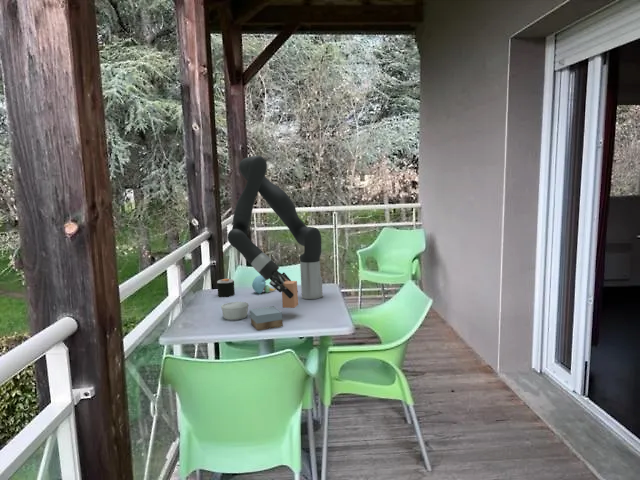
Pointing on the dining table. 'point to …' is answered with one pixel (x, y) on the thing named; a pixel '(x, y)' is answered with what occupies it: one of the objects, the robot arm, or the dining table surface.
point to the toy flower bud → (261, 285)
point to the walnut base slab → (267, 324)
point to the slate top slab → (265, 314)
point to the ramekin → (235, 310)
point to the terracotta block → (294, 300)
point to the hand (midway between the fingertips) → (294, 294)
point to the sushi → (225, 287)
